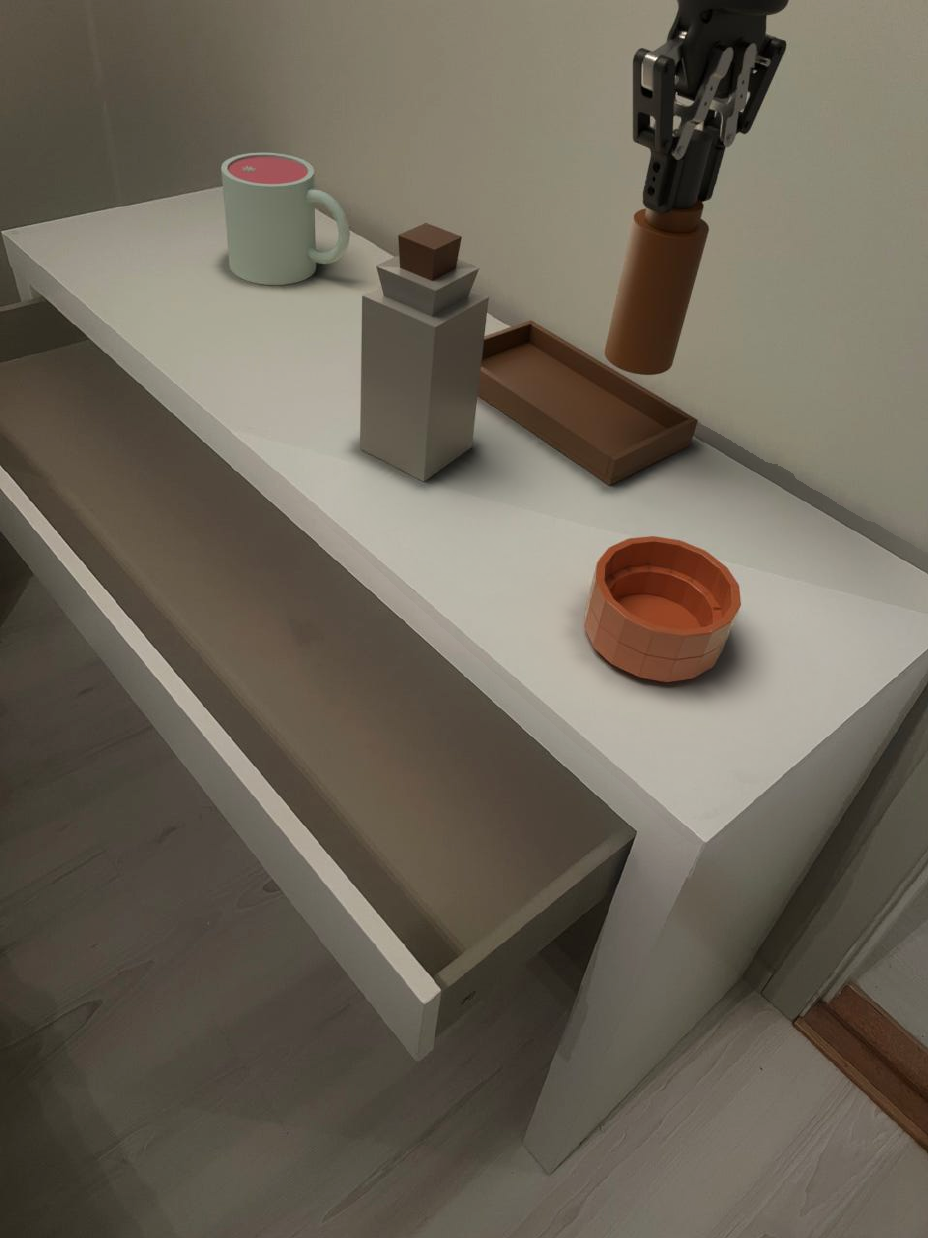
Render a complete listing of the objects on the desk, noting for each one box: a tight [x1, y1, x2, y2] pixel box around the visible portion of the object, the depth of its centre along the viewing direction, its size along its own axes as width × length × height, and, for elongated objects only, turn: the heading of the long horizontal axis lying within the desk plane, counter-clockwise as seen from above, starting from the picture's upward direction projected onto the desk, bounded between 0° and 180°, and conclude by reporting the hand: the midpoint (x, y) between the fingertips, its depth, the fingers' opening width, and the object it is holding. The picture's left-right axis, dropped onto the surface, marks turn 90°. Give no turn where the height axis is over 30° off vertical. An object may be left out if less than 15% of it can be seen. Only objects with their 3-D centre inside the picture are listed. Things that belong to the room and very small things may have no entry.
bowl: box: [583, 535, 742, 683], centre depth 63 cm, size 10×10×5 cm
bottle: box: [604, 127, 713, 376], centre depth 70 cm, size 6×6×17 cm
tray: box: [478, 319, 699, 486], centre depth 84 cm, size 21×11×3 cm, turn 41°
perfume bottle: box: [359, 222, 490, 482], centre depth 72 cm, size 7×7×18 cm
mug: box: [220, 152, 351, 286], centre depth 97 cm, size 14×9×10 cm
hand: (676, 202), depth 67 cm, fingers closed on bottle, 4 cm apart
